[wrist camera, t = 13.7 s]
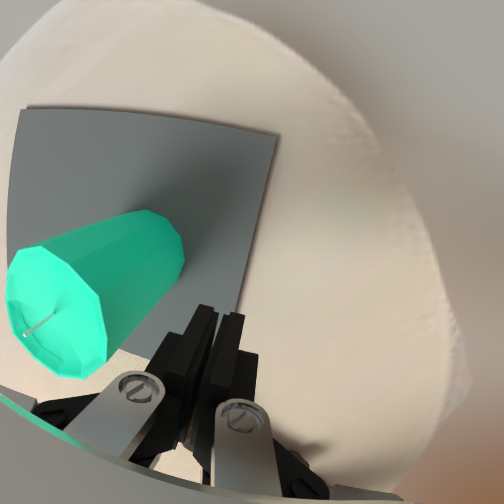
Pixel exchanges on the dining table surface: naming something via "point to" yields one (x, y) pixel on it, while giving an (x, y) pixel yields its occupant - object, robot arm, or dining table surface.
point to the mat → (144, 196)
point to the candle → (90, 289)
